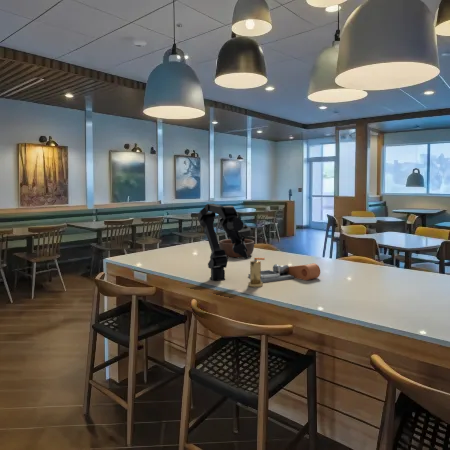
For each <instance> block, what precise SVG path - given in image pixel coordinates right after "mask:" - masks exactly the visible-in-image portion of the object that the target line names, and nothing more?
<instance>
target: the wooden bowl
mask: <svg viewBox="0 0 450 450" xmlns="http://www.w3.org/2000/svg"><path fill="white" fill-rule="evenodd" d="M244 242H245V245H246V248H247V251H246V253H247V255H248V256H249V257H251V255H253V252H254V247H255V241H254V240H253V239H248V238H245V239H244ZM218 243H219V246H220V249H221V250H225V253H226V256H227V258H229V257H236V258H235V259H238V258H237V257H243V256H241V255H239V254H237V253H234V251H233V245H234V244H235V243H234V244H232V241H231V240H230V238H228V239H227V238H225V239H222V240H219V241H218Z"/></svg>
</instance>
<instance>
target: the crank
mask: <svg viewBox="0 0 450 450" xmlns="http://www.w3.org/2000/svg"><path fill="white" fill-rule="evenodd" d="M288 267H289V272H288V274H291V275H294V279H296V278H297V279H300V280H303V281H309V280H313V279H317V278H319V277H320V276H321V268H320V266H319V265H318V263H309V264H301V265H299V264H298V265H291V266H288Z"/></svg>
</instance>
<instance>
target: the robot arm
mask: <svg viewBox="0 0 450 450" xmlns="http://www.w3.org/2000/svg"><path fill="white" fill-rule="evenodd" d="M217 214H218V216H219V217H220V219H219V222H218V224H219V225H221V227H222V229H223V231H224V232H225V233H226V235H227V238H228V239H230V240H231V241H232V244H234V243H235V244H234V245H233V251H234V253H237V254H239V255H241V256H243V257H244V259H249V257H248V255H247V253H246V251H247V248H246V245H245V242H244V239H246V238H247V237H252V230H251V229H252V228H251V227H250V226H248V225H247V224H244V222H243V221H242V220H241V219H240V216H239V214H238V212H237V210H236V208H235V206H234V205H220V204H216V203H207V204H205V206H204V207H203V208H202V209H201V210H199V213H198V215H197V219H198V222H199V224H200V226H201V227H203V228H204V231H205V234H206V238H207V241H208V244H209V247H210V257H209V259H210V260H209V261H208V263H207V268H209V269H210V277H209V279H210V280H212V281H214V282H217V281H225V280H226V274H225V273H226V271H225V268H227V265H228V261H229V260H228V259H229V258H228V257H227V256H226V253H225V250H221V249H220V246H219V241H218V240H219V239H218V237H217V234H216V231H215V227H214V223H215V217H216V215H217Z"/></svg>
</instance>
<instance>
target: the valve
mask: <svg viewBox="0 0 450 450" xmlns="http://www.w3.org/2000/svg"><path fill="white" fill-rule="evenodd" d="M265 260H266V259H265V257H254V259H253V260H251V261H250V263H249V264H250V266H249V267H250V272H249V274H250V277H249V278H250V279H249V280H250V281H249V282H248V283H247V284H248V285H247V286H248V287H250V288H262V287H263V286H264V283H262V282H261V271H262V262H261V261H265Z"/></svg>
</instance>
